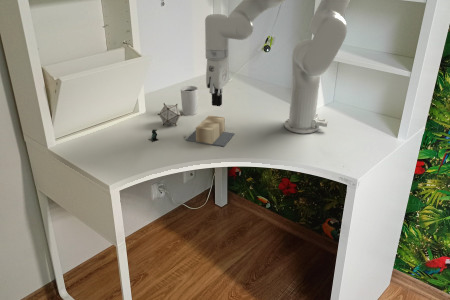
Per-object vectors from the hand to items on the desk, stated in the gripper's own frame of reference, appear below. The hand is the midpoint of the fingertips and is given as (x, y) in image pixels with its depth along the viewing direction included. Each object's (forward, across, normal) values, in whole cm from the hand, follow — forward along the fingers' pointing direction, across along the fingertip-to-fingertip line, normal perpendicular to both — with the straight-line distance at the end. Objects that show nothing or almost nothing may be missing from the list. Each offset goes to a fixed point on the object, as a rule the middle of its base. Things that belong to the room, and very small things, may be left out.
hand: (216, 104), depth 153 cm
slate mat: (+10, -6, 0) cm, 12 cm away
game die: (+10, -1, +18) cm, 21 cm away
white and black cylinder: (+10, +12, +16) cm, 22 cm away
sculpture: (+10, -15, +18) cm, 26 cm away
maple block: (+7, 0, 0) cm, 7 cm away
